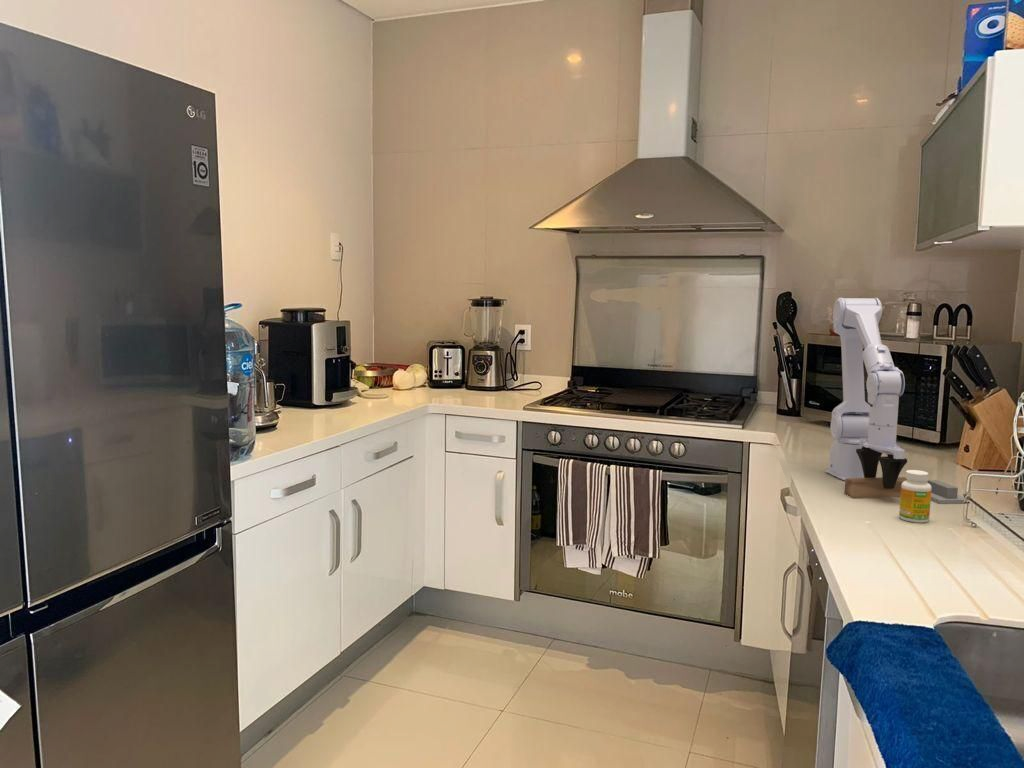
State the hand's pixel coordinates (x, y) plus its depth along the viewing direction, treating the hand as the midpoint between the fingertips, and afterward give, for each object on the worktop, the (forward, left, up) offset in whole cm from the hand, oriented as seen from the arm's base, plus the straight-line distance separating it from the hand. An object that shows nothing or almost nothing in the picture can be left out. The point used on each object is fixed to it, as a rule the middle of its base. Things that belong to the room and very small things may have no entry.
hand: (879, 484), depth 174 cm
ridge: (+3, +13, -3) cm, 14 cm away
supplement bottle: (+18, -3, -3) cm, 18 cm away
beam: (0, 0, -3) cm, 3 cm away
